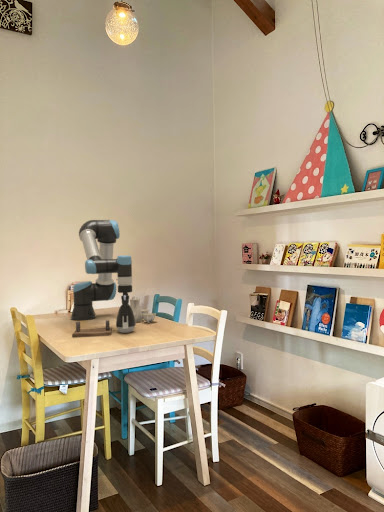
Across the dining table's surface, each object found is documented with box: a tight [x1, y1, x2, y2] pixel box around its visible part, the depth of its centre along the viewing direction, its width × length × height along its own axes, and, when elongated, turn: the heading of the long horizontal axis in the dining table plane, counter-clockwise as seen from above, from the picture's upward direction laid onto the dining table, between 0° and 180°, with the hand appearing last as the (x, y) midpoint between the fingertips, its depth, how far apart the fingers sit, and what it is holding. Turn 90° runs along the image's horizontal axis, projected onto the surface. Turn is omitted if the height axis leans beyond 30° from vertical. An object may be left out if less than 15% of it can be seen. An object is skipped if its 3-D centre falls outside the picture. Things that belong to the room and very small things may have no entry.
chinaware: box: [129, 294, 157, 324], centre depth 245 cm, size 28×17×17 cm, turn 25°
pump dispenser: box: [115, 303, 137, 334], centre depth 211 cm, size 10×10×15 cm
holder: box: [71, 319, 113, 338], centre depth 209 cm, size 13×19×6 cm
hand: (125, 326), depth 211 cm, fingers open, 11 cm apart
